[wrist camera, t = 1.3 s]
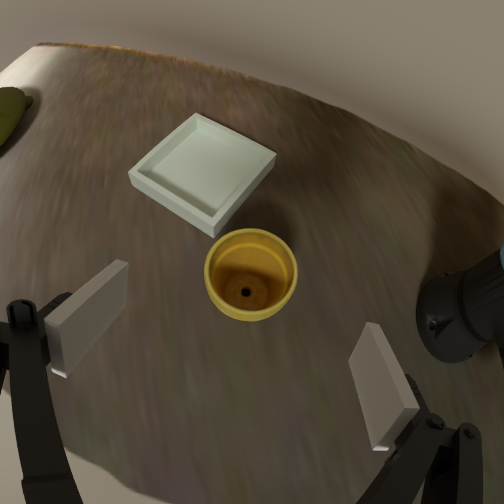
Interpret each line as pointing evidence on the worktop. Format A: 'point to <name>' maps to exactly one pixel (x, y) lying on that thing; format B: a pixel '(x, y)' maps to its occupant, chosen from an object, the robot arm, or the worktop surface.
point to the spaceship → (11, 110)
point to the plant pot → (250, 274)
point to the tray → (203, 172)
